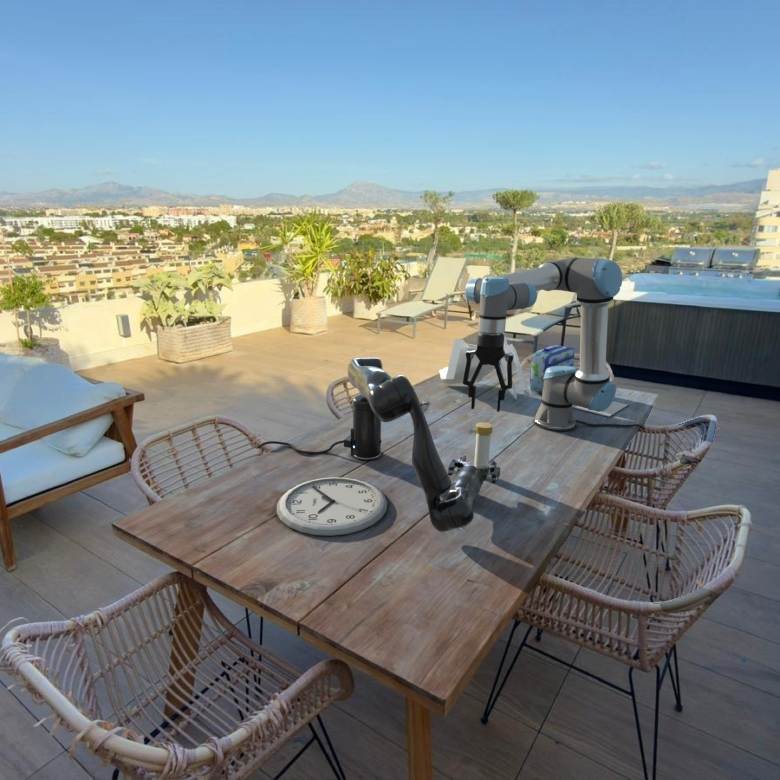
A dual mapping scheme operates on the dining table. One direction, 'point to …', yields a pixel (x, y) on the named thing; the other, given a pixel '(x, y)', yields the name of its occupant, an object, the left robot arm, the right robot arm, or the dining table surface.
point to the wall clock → (331, 506)
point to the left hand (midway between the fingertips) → (478, 460)
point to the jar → (482, 450)
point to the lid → (483, 428)
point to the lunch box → (548, 363)
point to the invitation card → (609, 411)
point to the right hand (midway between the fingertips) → (485, 408)
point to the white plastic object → (458, 364)
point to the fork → (424, 401)
